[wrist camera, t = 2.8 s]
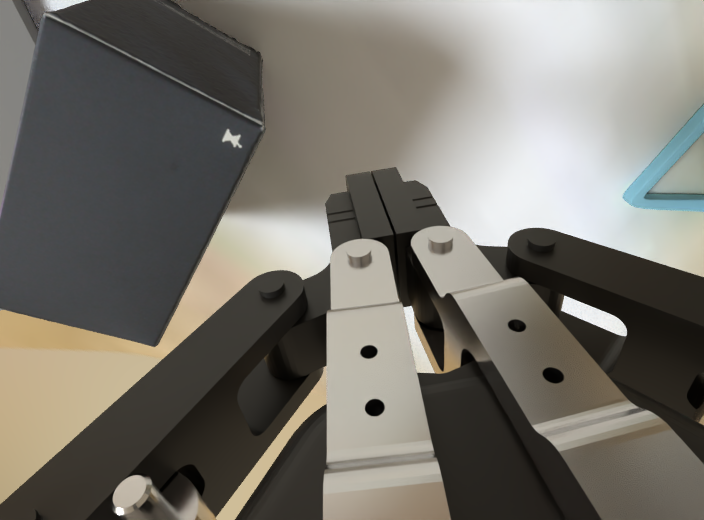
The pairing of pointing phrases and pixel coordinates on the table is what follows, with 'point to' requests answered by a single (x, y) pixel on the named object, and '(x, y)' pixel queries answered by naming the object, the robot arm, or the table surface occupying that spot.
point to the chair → (660, 165)
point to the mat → (13, 75)
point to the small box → (123, 163)
